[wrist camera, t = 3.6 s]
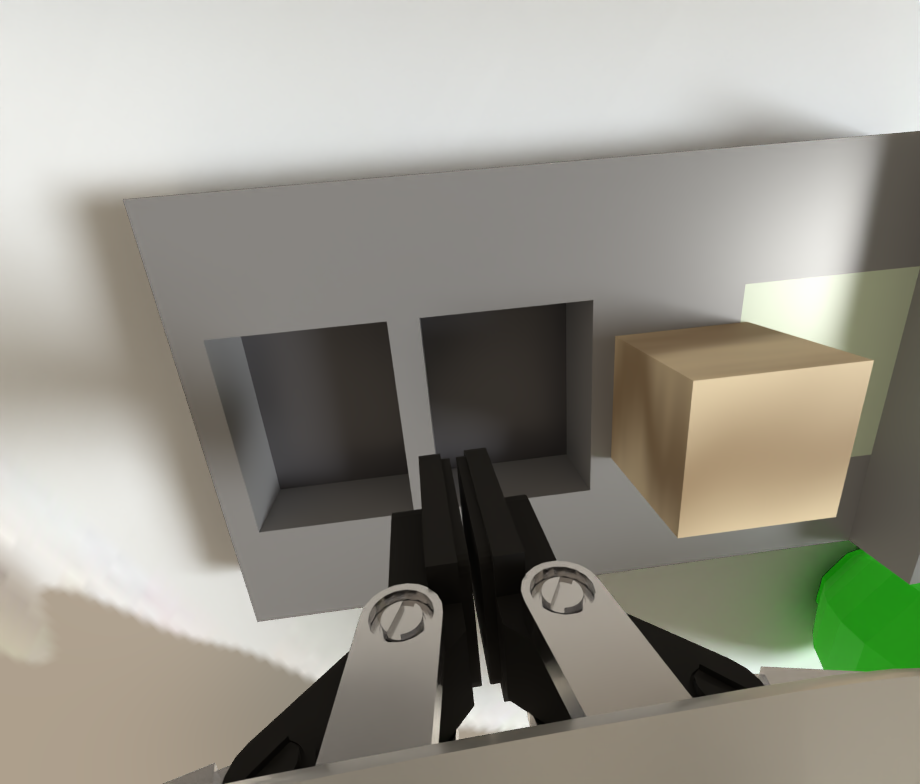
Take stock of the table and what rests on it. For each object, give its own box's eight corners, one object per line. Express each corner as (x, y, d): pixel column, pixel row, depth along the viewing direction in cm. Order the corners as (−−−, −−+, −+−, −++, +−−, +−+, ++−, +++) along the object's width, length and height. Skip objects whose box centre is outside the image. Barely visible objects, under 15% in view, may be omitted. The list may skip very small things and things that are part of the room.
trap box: (176, 203, 15) (55, 194, 10) (890, 141, 17) (1104, 105, 11) (278, 567, 20) (233, 682, 15) (813, 496, 22) (934, 580, 17)
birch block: (615, 336, 15) (693, 381, 11) (747, 321, 15) (873, 360, 11) (610, 457, 17) (677, 538, 12) (730, 443, 17) (836, 516, 13)
